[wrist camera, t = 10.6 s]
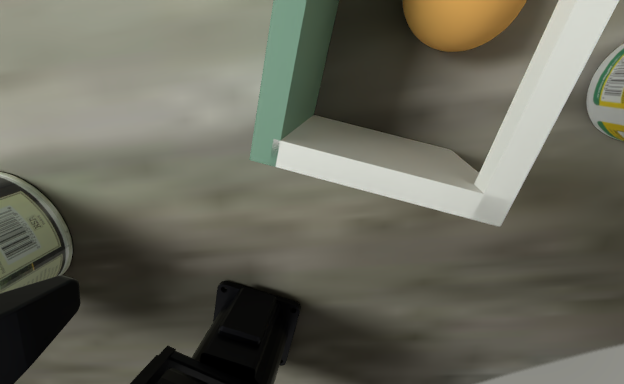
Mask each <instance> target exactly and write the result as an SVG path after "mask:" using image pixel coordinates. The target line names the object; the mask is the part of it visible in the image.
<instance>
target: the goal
mask: <svg viewBox="0 0 624 384" xmlns="http://www.w3.org/2000/svg"><path fill="white" fill-rule="evenodd" d="M618 2H619V0H559V1H558V3H557V5H556V7H555V9H554V12H553V14H552V16H551V18H550V20H549V23H548V25H547V27H546V29H545V31H544V33H543V36H542V38H541V40H540V42H539V44H538V46H537V49H536V51H535V53H534V55H533V57H532V60H531V62H530V64H529V66H528V68H527V70H526V73H525V75H524V77H523V79H522V81H521V83H520V86H519V88H518V90H517V92H516V94H515V96H514V99H513V101H512V103H511V105H510V107H509V110H508V112H507V114H506V116H505V118H504V120H503V123H502V125H501V127H500V129H499V131H498V133H497V136H496V138H495V140H494V142H493V144H492V147H491V149H490V151H489V153H488V155H487V157H486V160H485V162H484V164H483V166H482V168H481V170H480V173H478V172H477V171H476V170H475V169H474V168H472V167H471V166H470V165H469V164H468V163H466V162H465V161H464V160H463V159H461V158H460V157H459V156H458V155H457V154H455V153H454V152H453V151H452V150H450V149H446V148H442V147H439V146H435V145H431V144H427V143H423V142H419V141H415V140H411V139H407V138H403V137H399V136H395V135H391V134H387V133H383V132H379V131H375V130H372V129H368V128H364V127H360V126H356V125H352V124H348V123H344V122H340V121H336V120H332V119H328V118H324V117H320V116H316V115H314V112H315V107H316V103H317V98H318V94H319V89H320V85H321V80H322V76H323V71H324V67H325V62H326V58H327V53H328V49H329V44H330V40H331V35H332V31H333V26H334V22H335V17H336V13H337V8H338V4H339V0H274V2H273V8H272V15H271V21H270V28H269V35H268V41H267V48H266V55H265V61H264V68H263V74H262V81H261V88H260V94H259V101H258V107H257V114H256V121H255V127H254V134H253V140H252V147H251V154H250V160H252V161H255V162H259V163H263V164H267V165H270V166H274V167H278V168H282V169H285V170H289V171H293V172H297V173H300V174H304V175H308V176H312V177H315V178H319V179H323V180H327V181H330V182H334V183H338V184H342V185H345V186H349V187H353V188H356V189H360V190H364V191H368V192H371V193H375V194H379V195H383V196H386V197H390V198H394V199H398V200H401V201H405V202H409V203H413V204H416V205H420V206H424V207H428V208H431V209H435V210H439V211H443V212H446V213H450V214H454V215H458V216H461V217H465V218H469V219H473V220H476V221H480V222H484V223H488V224H491V225H495V226H499V227H500V226H501V224H502V223H503V221H504V219H505V217H506V215H507V213H508V211H509V209H510V207H511V205H512V203H513V202H514V200H515V198H516V196H517V194H518V192H519V190H520V188H521V186H522V184H523V183H524V181H525V179H526V177H527V175H528V173H529V171H530V169H531V167H532V165H533V163H534V162H535V160H536V158H537V156H538V154H539V152H540V150H541V148H542V146H543V144H544V143H545V141H546V139H547V137H548V135H549V133H550V131H551V129H552V127H553V125H554V124H555V122H556V120H557V118H558V116H559V114H560V112H561V110H562V108H563V106H564V104H565V103H566V101H567V99H568V97H569V95H570V93H571V91H572V89H573V87H574V85H575V84H576V82H577V80H578V78H579V76H580V74H581V72H582V70H583V68H584V66H585V64H586V63H587V61H588V59H589V57H590V55H591V53H592V51H593V49H594V47H595V45H596V44H597V42H598V40H599V38H600V36H601V34H602V32H603V30H604V28H605V26H606V25H607V23H608V21H609V19H610V17H611V15H612V13H613V11H614V9H615V7H616V5H617V4H618Z"/></svg>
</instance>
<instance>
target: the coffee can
mask: <svg viewBox="0 0 624 384" xmlns="http://www.w3.org/2000/svg"><path fill="white" fill-rule="evenodd" d="M72 254H73V248H72V239H71V236H70V233H69V229H68V228H67V226H66V224H65V222H64V220H63V218H62V216H61V215H60V213H59V212H58V210H57V209H56V208H55V206H54V205H53V204H52V203H51V202H50V201H49V200H48V199H47V198H46V197H45V196H44V195H43V194H42V193H41V192H40V191H38V190H37V189H36V188H35V187H34V186H32V185H30V184H28V183H27V182H25V181H24V180H22V179H20V178H18V177H16V176H13V175H10V174H7V173H4V172H0V293H3V292H6V291H10V290H13V289H16V288H19V287H23V286H26V285H29V284H32V283H36V282H39V281H42V280H46V279H49V278H52V277H55V276H59V275H62V274H64V273H65V272H66V270H67V269H68V268H69V266H70V262H71V260H72Z"/></svg>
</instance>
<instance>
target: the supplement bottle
mask: <svg viewBox="0 0 624 384" xmlns="http://www.w3.org/2000/svg"><path fill="white" fill-rule="evenodd" d="M586 102H587V111H588V115H589V117H590V119H591V121H592V123H593V124H594V126H595V127H596V128H597V129H598V130H600V131H601V132H602V133H604V134H606V135H607V136H609V137H612V138H614V139H617V140H621V141H624V43H623V44H622V45H620V46H619V47H618V48H616V49H615V50H614V51H613V52H612V53H611V54H610V55H609V56H608V57H607V58H606V59H605V60H604V61H603V62H602V64H601V65H600V66H599V68H598V69H597V71H596V72H595V74H594V76H593V78H592V80H591V82H590V85H589V88H588V92H587V100H586Z"/></svg>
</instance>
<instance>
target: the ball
mask: <svg viewBox="0 0 624 384" xmlns="http://www.w3.org/2000/svg"><path fill="white" fill-rule="evenodd" d="M526 1H527V0H403V11H404V15H405V18H406V21H407V23H408V25H409V27H410V29H411V31H412V32H413V34H414V35H415V36H416V37H417V38H418V39H419V40H420V41H421V42H423V43H424V44H426V45H427V46H429V47H431V48H433V49H437V50H440V51H446V52H459V51H466V50H469V49H473V48H476V47H478V46H480V45H483V44H485V43H487V42H488V41H490V40H492V39H493V38H495V37H496V36H497V35H499V34H500V33H501V32H502V31H504V30H505V29H506V28H507V27H508V26H509V25H510V24H511V23H512V21H513V20H514V19H515V18H516V17H517V15H518V14H519V12H520V11H521V9H522V8H523V6H524V5H525V3H526Z"/></svg>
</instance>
